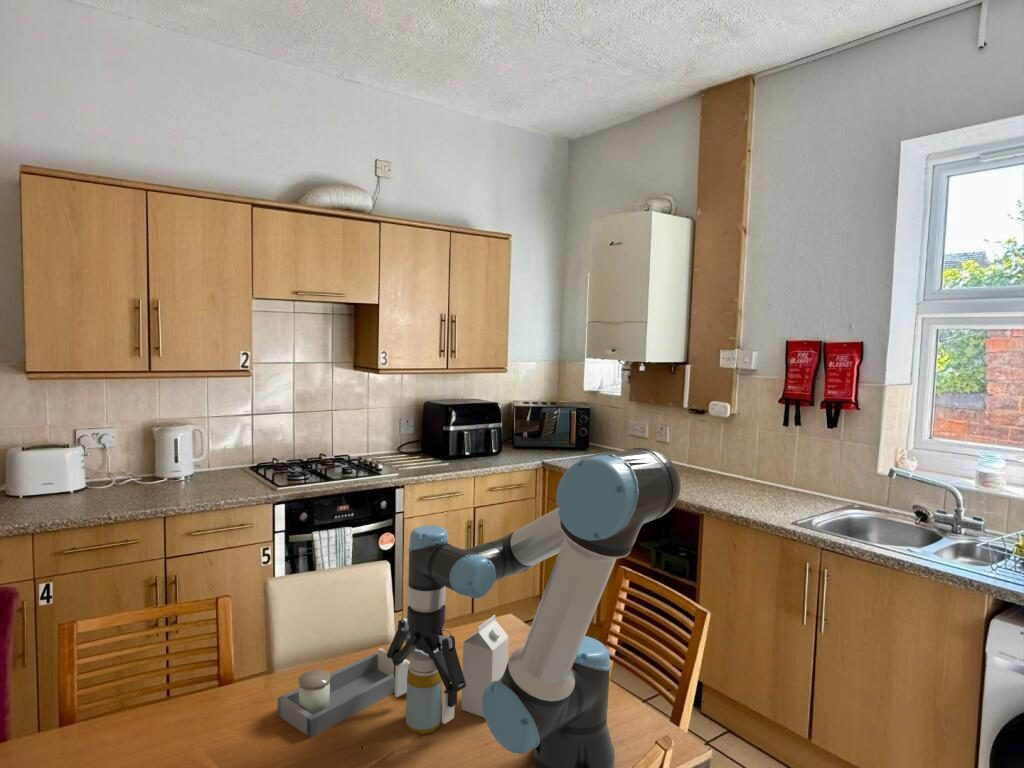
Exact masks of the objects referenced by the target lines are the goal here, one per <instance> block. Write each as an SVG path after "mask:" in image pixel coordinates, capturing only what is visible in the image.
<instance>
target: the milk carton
mask: <svg viewBox="0 0 1024 768" xmlns="http://www.w3.org/2000/svg"><path fill="white" fill-rule="evenodd" d="M462 644H463V645H462V646H463V648H462V649H463V650H462V672H463V676H464V679H465V682H466V687H465V688H463V689H461V710H463V711H465V712H468V713H470V714H473V715H476V716H479V717H482V718H484V719H485V717H484V714H483V709H482V697H483V693H484V691H485V689H486V688H487V687H488V686H489V685H490V684H491V683H492V682H493V681H498V680H499V679H501V677H502V676H503V674H504V672H505V669H506V666H507V664H508V661H509V635H508V633H506V631H505V630H504V629H503V627H502V626H501V625H500V624H499V622H498V621H497V620H496V614H494V615H492V616H491V617H490V618H488V619H486V620H485V621H484V622H483V623H481V624H480V625H479V626H477V631H476V632H475V633H473V634H472V635H470V636H469V637H467V638H466V639H465V640H464V641H463V643H462Z"/></svg>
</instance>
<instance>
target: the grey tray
mask: <svg viewBox="0 0 1024 768" xmlns="http://www.w3.org/2000/svg"><path fill="white" fill-rule="evenodd" d="M329 673H330V706H329V707H327V708H325V709H323V710H321V711H319V712H317V713H315V714H313V715H312V714H311V713H309V712H307V711H306V710H304V709H303V708H301V707H300V706H299V687H298V688H296V689H294V690H292V691H289V692H287V693H285V694H283V695H280V696H279V697H277V716H278V717H280V718H281V719H282V720H284V721H285V722H287V723H288V724H289V725H291V726H292V727H293V728H296V729H297V730H298V731H299V732H301V733H302V734H304V735H305V736H307V737H308V738H309V739H312V738H314V737H316V736H317V735H320V734H322V733H323V732H325V731H327V730H329V729H330V728H333V727H334V726H335V725H338V724H340V723H341V722H343V721H345V720H347V719H349V718H351V717H352V716H355V715H356V714H358V713H360V712H362V711H363V710H365V709H368V708H369V707H371V706H373V705H374V704H376V703H378V702H380V701H382V700H384V699H387V698H388V697H389V696H391V695H393V694H395V678H394V674H392V675H390V676H388V675H386V674H384V673H382V672H381V671H379V670H378V653H376V652H373V653H372V654H369V655H366V656H365V657H362V658H360V659H358V660H356V661H354V662H352V663H349V664H347V665H345V666H343V667H341V668H338V669H336V670H335V671H333V672H329ZM407 675H408V672H407Z"/></svg>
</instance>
